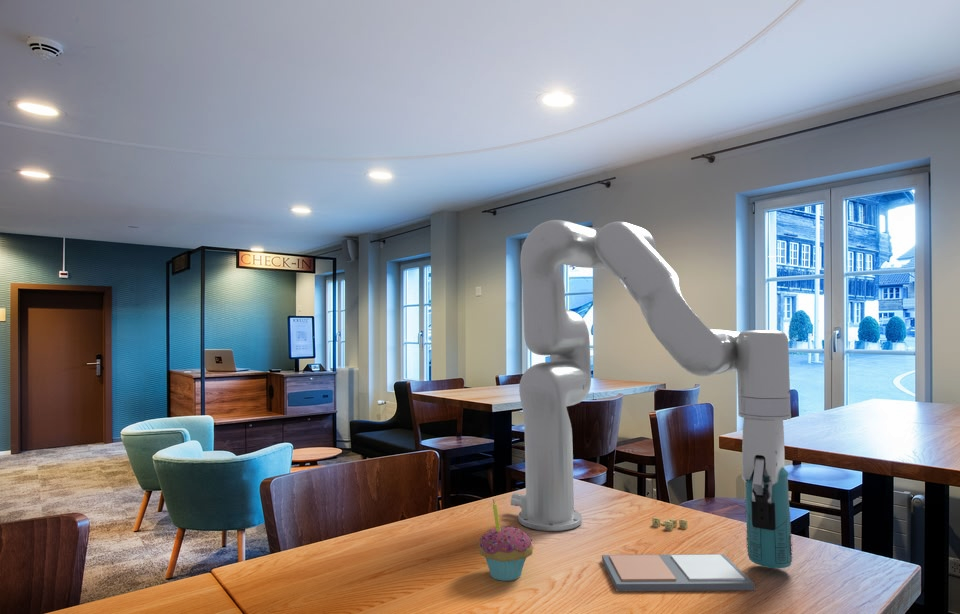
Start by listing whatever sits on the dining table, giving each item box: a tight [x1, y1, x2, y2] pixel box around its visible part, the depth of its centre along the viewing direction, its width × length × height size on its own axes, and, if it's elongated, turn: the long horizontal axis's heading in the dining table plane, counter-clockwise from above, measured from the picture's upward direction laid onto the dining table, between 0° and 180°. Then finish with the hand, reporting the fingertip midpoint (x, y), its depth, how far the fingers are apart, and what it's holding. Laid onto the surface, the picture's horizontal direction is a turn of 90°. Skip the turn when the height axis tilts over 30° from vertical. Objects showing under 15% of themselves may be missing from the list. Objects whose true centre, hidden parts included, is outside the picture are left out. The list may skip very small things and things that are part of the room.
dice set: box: [651, 517, 688, 531], centre depth 112 cm, size 5×5×2 cm
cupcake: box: [478, 498, 534, 582], centre depth 91 cm, size 9×8×12 cm
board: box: [601, 553, 756, 592], centre depth 90 cm, size 20×11×1 cm, turn 89°
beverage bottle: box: [744, 465, 794, 569], centre depth 92 cm, size 6×7×20 cm
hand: (767, 520), depth 92 cm, fingers closed on beverage bottle, 6 cm apart
